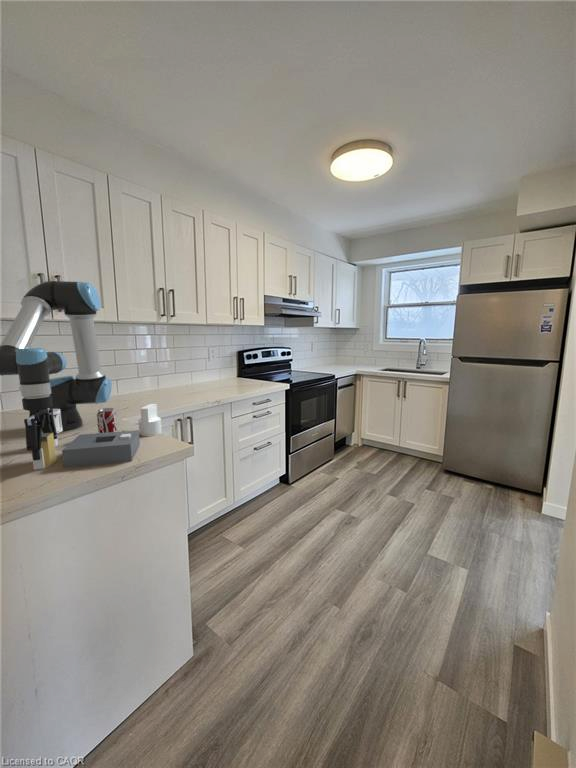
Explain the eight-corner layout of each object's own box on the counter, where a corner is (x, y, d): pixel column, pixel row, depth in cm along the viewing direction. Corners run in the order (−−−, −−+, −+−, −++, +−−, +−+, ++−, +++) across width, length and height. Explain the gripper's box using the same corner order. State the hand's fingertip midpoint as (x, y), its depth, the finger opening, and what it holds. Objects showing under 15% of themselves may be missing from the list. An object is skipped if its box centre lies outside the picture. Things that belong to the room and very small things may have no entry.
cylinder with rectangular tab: (145, 429, 141) (143, 403, 139) (165, 429, 140) (163, 403, 138) (135, 436, 132) (133, 408, 130) (156, 436, 132) (154, 408, 130)
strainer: (61, 441, 125) (56, 405, 122) (66, 445, 120) (62, 407, 118) (39, 446, 120) (34, 408, 117) (44, 450, 115) (39, 411, 113)
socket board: (81, 450, 116) (79, 432, 115) (139, 444, 121) (138, 428, 120) (64, 467, 101) (61, 447, 100) (131, 460, 106) (130, 441, 105)
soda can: (100, 436, 131) (97, 408, 130) (118, 434, 134) (116, 407, 132) (98, 441, 125) (95, 412, 123) (116, 438, 128) (114, 410, 126)
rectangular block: (41, 462, 105) (37, 433, 103) (56, 460, 106) (53, 432, 105) (34, 467, 101) (30, 438, 99) (50, 466, 102) (46, 436, 100)
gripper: (38, 391, 108) (46, 453, 112) (3, 404, 89) (14, 478, 93) (63, 390, 110) (70, 451, 114) (34, 402, 91) (44, 475, 95)
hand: (45, 463), depth 103 cm, fingers open, 8 cm apart
